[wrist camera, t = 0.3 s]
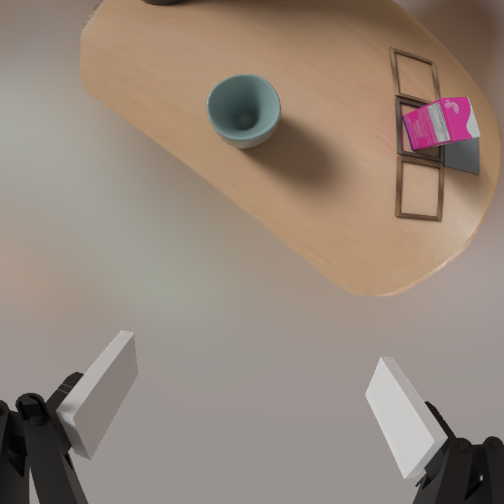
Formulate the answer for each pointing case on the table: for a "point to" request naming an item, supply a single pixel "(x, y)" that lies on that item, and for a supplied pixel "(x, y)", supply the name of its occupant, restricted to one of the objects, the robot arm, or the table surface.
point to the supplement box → (441, 123)
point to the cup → (244, 110)
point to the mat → (462, 155)
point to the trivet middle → (398, 125)
